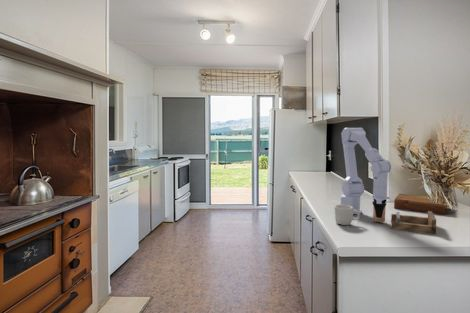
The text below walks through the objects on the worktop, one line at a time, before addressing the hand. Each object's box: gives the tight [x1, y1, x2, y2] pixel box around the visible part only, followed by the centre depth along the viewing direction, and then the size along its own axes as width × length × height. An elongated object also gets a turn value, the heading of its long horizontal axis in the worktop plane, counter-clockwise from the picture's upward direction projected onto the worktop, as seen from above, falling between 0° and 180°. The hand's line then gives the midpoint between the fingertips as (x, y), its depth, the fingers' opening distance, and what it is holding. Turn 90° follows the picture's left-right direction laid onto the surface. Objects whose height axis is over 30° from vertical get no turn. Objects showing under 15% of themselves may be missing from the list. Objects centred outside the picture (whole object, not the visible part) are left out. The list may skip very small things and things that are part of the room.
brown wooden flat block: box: [393, 193, 447, 216], centre depth 164 cm, size 23×19×6 cm
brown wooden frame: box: [390, 211, 437, 235], centre depth 132 cm, size 16×15×6 cm
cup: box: [334, 204, 361, 226], centre depth 136 cm, size 11×8×8 cm
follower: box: [395, 211, 401, 222], centre depth 134 cm, size 1×11×4 cm, turn 152°
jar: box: [372, 205, 387, 223], centre depth 138 cm, size 5×5×8 cm
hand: (379, 216), depth 138 cm, fingers closed on jar, 5 cm apart
